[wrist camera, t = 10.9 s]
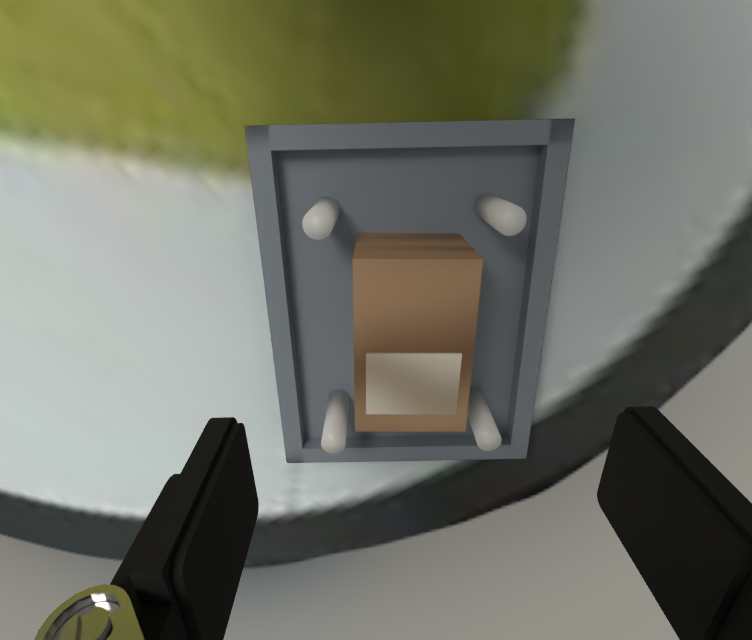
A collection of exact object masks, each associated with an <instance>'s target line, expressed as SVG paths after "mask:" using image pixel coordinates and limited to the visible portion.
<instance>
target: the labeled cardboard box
mask: <svg viewBox="0 0 752 640" xmlns="http://www.w3.org/2000/svg"><path fill="white" fill-rule="evenodd" d="M352 260H353V325H354V391H355V431H362V432H465V431H466V421H467V411H468V402H469V392H470V383H471V373H472V363H473V354H474V344H475V335H476V325H477V315H478V306H479V296H480V286H481V277H482V267H483V259H482V257H481V256H480V255H479V254H478V253H477V252H476V251H475V250H474V249H473V248H472V247H471V245H470V244H469V243H468V242H467V241H466V240H465V239H464V238H463V237H462V236H461V235H460V234H459V233H357V237H356V242H355V248H354V253H353V259H352Z"/></svg>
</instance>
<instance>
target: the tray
mask: <svg viewBox="0 0 752 640" xmlns="http://www.w3.org/2000/svg"><path fill="white" fill-rule="evenodd" d="M574 121H575V119H532V120H486V121H440V122H395V123H349V124H303V125H258V126H245V133H246V141H247V149H248V157H249V165H250V173H251V181H252V189H253V197H254V205H255V213H256V221H257V229H258V237H259V245H260V253H261V261H262V269H263V277H264V285H265V293H266V301H267V309H268V317H269V325H270V333H271V341H272V349H273V357H274V365H275V373H276V381H277V389H278V397H279V405H280V413H281V421H282V429H283V437H284V445H285V453H286V461H287V463H312V462H367V461H421V460H476V459H526V457H527V450H528V443H529V436H530V429H531V422H532V415H533V408H534V401H535V394H536V387H537V380H538V373H539V366H540V359H541V352H542V345H543V338H544V331H545V324H546V317H547V310H548V303H549V296H550V289H551V282H552V275H553V268H554V261H555V254H556V247H557V240H558V233H559V226H560V219H561V212H562V205H563V198H564V191H565V184H566V177H567V170H568V163H569V156H570V149H571V142H572V135H573V128H574ZM357 233H459V234H460V235H461V236H462V237H463V238H464V239H465V240H466V241H467V242H468V243H469V244H470V245H471V247H472V248H473V249H474V250H475V251H476V252H477V253H478V254H479V255H480V256H481V257H482V259H483V267H482V277H481V286H480V296H479V306H478V315H477V325H476V335H475V344H474V354H473V363H472V373H471V383H470V392H469V402H468V411H467V421H466V431H465V432H362V431H355V391H354V325H353V260H352V259H353V253H354V248H355V242H356V237H357Z"/></svg>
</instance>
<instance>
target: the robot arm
mask: <svg viewBox="0 0 752 640" xmlns="http://www.w3.org/2000/svg"><path fill="white" fill-rule="evenodd" d="M597 497H598V502H599V505H600V507H601V509H602V511H603V512H604V514H605V516H606V517H607V519H608V520H609V522H610V524H611V526H612V527H613V529H614V530H615V532H616V534H617V536H618V537H619V539H620V540H621V542H622V544H623V546H624V547H625V549H626V551H627V552H628V554H629V556H630V557H631V559H632V561H633V562H634V564H635V565H636V567H637V569H638V571H639V572H640V574H641V575H642V577H643V579H644V581H645V582H646V584H647V586H648V587H649V589H650V591H651V592H652V594H653V595H654V597H655V599H656V601H657V602H658V604H659V606H660V607H661V609H662V611H663V612H664V614H665V616H666V617H667V619H668V621H669V622H670V624H671V626H672V627H673V629H674V631H675V632H676V634H677V636H678V637H679V639H680V640H752V504H751V503H750V502H749V501H748V499H747V498H746V497H744V496H743V495H742V493H741V492H739V490H738V489H737V488H735V487H734V486H733V485H732V483H731V482H730V481H729V480H727V478H725V476H724V475H722V473H721V472H720V471H719V470H718V469H717V468H716V467H714V465H713V464H711V462H710V461H709V460H708V459H707V458H705V457H704V455H703V454H702V453H700V451H699V450H697V448H696V447H695V446H694V445H693V444H692V443H691V442H690V441H689V440H688V439H686V437H685V436H684V435H683V434H682V433H681V432H680V431H679V430H678V429H677V428H676V427H675V426H674V425H673V424H672V423H671V422H670V421H669V420H668V419H667V418H666V417H665V416H663V414H661V412H660V411H659V410H658V409H656V408H655V407H652V406H639V407H627V408H626V409H625V410H624V412H623V413H620V414H619V415H618V417H617V420H616V424H615V428H614V431H613V435H612V439H611V443H610V446H609V450H608V454H607V458H606V461H605V465H604V469H603V472H602V476H601V480H600V484H599V488H598V492H597ZM257 516H258V497H257V492H256V486H255V481H254V475H253V470H252V465H251V459H250V454H249V449H248V443H247V438H246V432H245V427H244V425H243V423H237V420H236V419H235V418H234V417H230V418H211V419H210V420H209V421H208V423H207V425H206V426H205V428H204V430H203V432H202V434H201V436H200V438H199V440H198V442H197V444H196V445H195V447H194V449H193V451H192V453H191V455H190V457H189V459H188V461H187V462H186V464H185V466H184V468H183V470H182V472H181V474H174V475H172V476H171V477H170V478H169V480H168V481H167V482H166V484H165V486H164V488H163V490H162V491H161V493H160V495H159V497H158V499H157V500H156V502H155V504H154V506H153V508H152V509H151V511H150V513H149V515H148V517H147V518H146V520H145V522H144V524H143V526H142V527H141V529H140V531H139V533H138V535H137V537H136V538H135V540H134V542H133V544H132V546H131V547H130V549H129V551H128V553H127V555H126V556H125V558H124V560H123V562H122V564H121V565H120V567H119V569H118V571H117V573H116V574H115V576H114V578H113V580H112V582H111V584H110V585H99V586H95V587H91V588H88V589H86V590H84V591H82V592H79V593H78V594H75V595H74V596H72V597H71V598H69V599H68V600H67V601H65V602H64V603H62V604H61V605H60V606H59V607H58V608H57V609H56V610H55V611H54V612H53V613H52V614H51V615H50V616H49V617H48V618H47V619H46V621H45V622H44V624H43V625H42V626H41V628H40V629H39V631H38V633H37V635H36V638H35V640H223V639H224V635H225V631H226V627H227V624H228V621H229V617H230V613H231V610H232V606H233V603H234V599H235V595H236V592H237V588H238V585H239V581H240V577H241V574H242V570H243V567H244V563H245V559H246V556H247V552H248V548H249V545H250V541H251V538H252V534H253V530H254V527H255V523H256V520H257Z"/></svg>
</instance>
